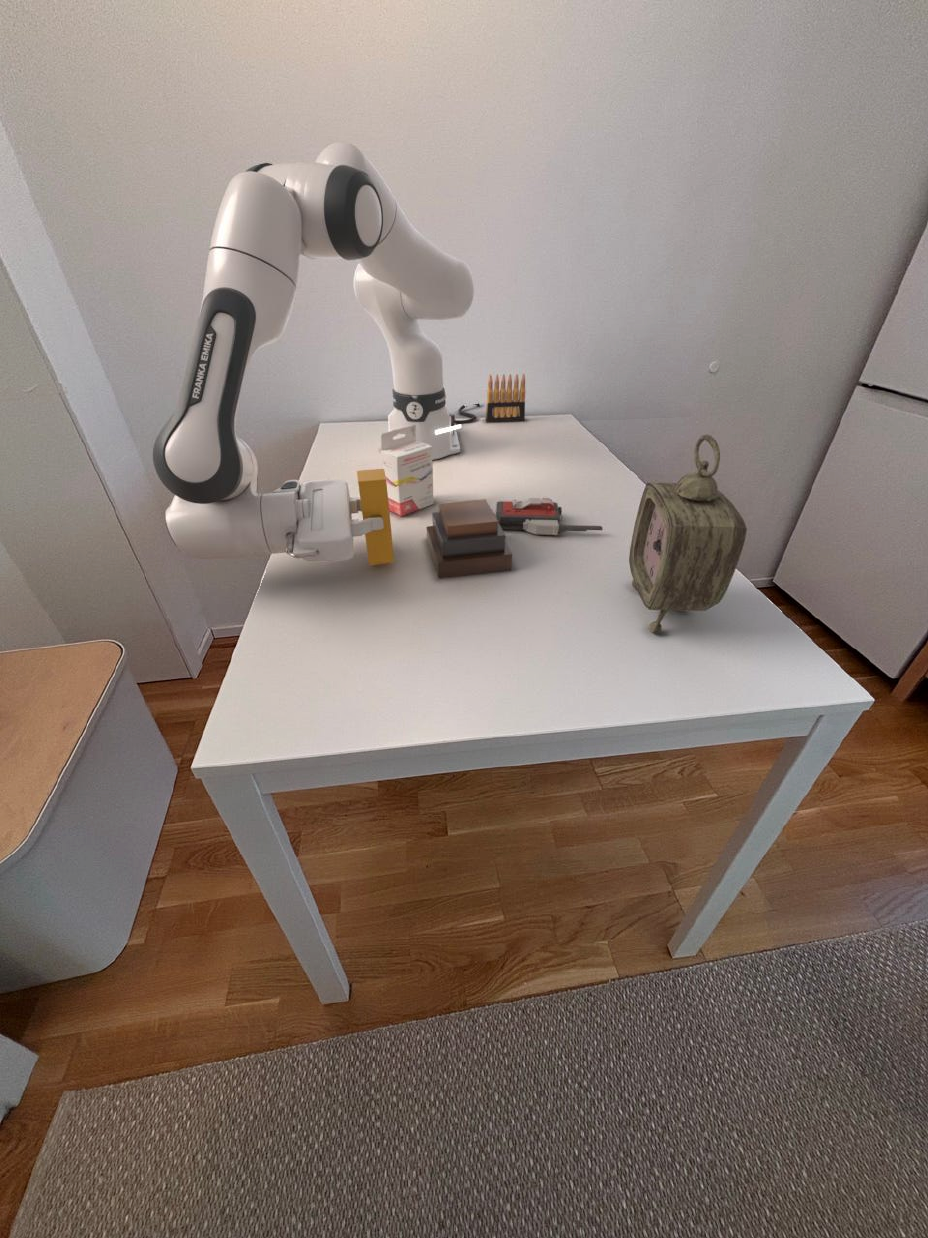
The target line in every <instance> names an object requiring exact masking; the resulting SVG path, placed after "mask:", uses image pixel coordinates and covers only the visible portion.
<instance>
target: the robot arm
mask: <svg viewBox="0 0 928 1238" xmlns="http://www.w3.org/2000/svg"><path fill="white" fill-rule="evenodd" d="M301 258H303V259H304V258H305V259H311V260H317V259H320V260H337V259H339V260H340V259H343V260H345V261H357V263H358V264H357V265H356V268H355V270H354V274H353V282H352V284H353V291H354V294H355V298H356V300H357V302H358V304H359V305H360V307H361V309H363V310H364V311H365V312H366V313H367V314H368V315H369V316H370V317H371V318H372V320H373V321H374V322H375V324H376V325H377V326H378V329H379V330H380V332H381V334H382V336H383V339H384V340H385V343H386V345H387V348H388V352H389V358H390V364H391V372H392V381H393V389H392V392H391V393H392V394H391V398H392V399H391V400H392V406H393V407H394V408H393V409H392V411H390V413H389V414H388V416H387V421H388V422H387V423H388V424H387V425H388V432H389V431H392V430H396V429H400V428H403V427H407V426H411V425H416V440H417V441H420V442H423V443H425V444H428V445H431V446H432V461H434V460H440V459H442V458H446V457H447V456H450V455H451V456H452V455H455V454H460V453H461V445H460V440H459V435H458V432H457V430H458V429H462V424H468V423H472V422H474V421H476V420H477V416H476V414H473V413H471V412H466V411H463V410H464V409H465V408H467V407H468V406H466V407H465V406H464V404H463V405H461V406H460V407H459V409H458V411H457V412H458V413H459V414H460V415H462V416H466V417H469V419H461V420H457V419H456V417H455V414H453V413H452V414H451V413H450V412H449V410H448V408H447V406H446V404H447V403H446V401H447V400H446V399H447V398H446V397H447V396H446V395H447V394H446V389H445V388H444V379H443V378H444V377H443V376H444V375H443V373H444V372H443V354H442V351H441V348H440V346H438V344H437V343H436V342H435V341H433V340H432V339H431V338H429V337H428V336H427V335H426V334H425V333H424V331H423V329H422V328H421V326H420V323H419V320H423V321H439V322H442V321H449V320H455V319H459V318H462V317H464V316H465V315H466V314H467V313H468V312H469V310H470V308H471V306H472V304H473V302H474V298H475V279H474V276H473V272H472V271H471V269H470V267H469V265H468V264H467V262H465V261H464V260H461V259H459V258H457V257H454V256H453V255H450V254H449V253H447V252H445V251H443V250H442V249H440V248H439V247H438V246H436V245H435V244H433V242H431V241H430V240H429V239H428V238H426V237H425V236H424V235H422V234H421V233H420V231H418V230H417V229H416V228H415V227H414V226H413V225H412V223H411V222H410V220H409V219H408V217H407V216H406V214H405V213H404V211H403V209H402V207H401V206H400V204H399V202H398V201H397V199H396V197H395V195H394V194H393V192H392V190H391V189H390V187H389V185H388V184H387V182H386V181H385V179H384V177H383V176H382V174H381V173H380V171H379V170H377V168H376V167H375V166H374V164H373V163H372V162H371V161H370V159H369V158H368V157H367V156H366V155H365V154H364V153H363V152H362V150H360V149H359V148H358V146H355V145H354V144H352V143H349V142H345V141H337V142H332V143H331V144H328V145H327V146H326V147H324V148H323V150H321V151H320V153H319V154H318V155H317V157H316V159H315V161H299V162H283V163H276V164H275V163H274V164H273V163H270V162H264V163H259V164H257V165H253V166H251V167H249V168H248V169H246V170H245V171H243V172H239V173H237V174H236V175H234V176H233V177H232V178H231V179H230V181H229V183H228V185H227V187H226V189H225V193H224V194H223V197H222V200H221V203H220V205H219V208H218V212H217V215H216V219H215V222H214V226H213V231H212V234H211V239H210V245H209V250H208V256H207V263H206V269H205V278H204V284H203V291H202V292H203V293H202V300H201V305H200V311H199V316H198V319H197V324H196V327H195V331H194V334H193V335H194V336H193V339H192V343H191V347H190V352H189V356H188V360H187V365H186V368H185V373H184V377H183V381H182V386H181V390H180V394H179V397H178V402H177V404H176V407H175V409H174V411H173V413H172V414H171V416H170V417H169V419H168V420H167V421H166V423H165V424H164V426H163V427H162V428H161V430H160V431H159V433H158V435H157V436H156V438H155V441H154V443H153V447H152V463H153V467H154V471H155V472H156V475H157V477H158V478H159V480H160V482H161V483H162V484H163V486H164V487H165V488H166V489H167V490H168V491H169V492H170V493H171V494H173V495H174V496H173V499H172V501H171V503H170V505H169V506H168V507H167V508H166V510H165V513H164V519H165V526H166V529H167V532H168V534H169V537H170V539H171V541H172V542H173V544H174V546H176V547H177V549H179V551H180V552H181V553H183V554H184V555H186V556H187V557H190V558H194V559H199V560H221V559H222V560H224V559H225V560H226V559H236V558H237V559H238V558H244V557H247V556H249V555H253V554H267V555H274V554H285V553H286V554H287V555H289V556H290V557H293V558H294V559H297V560H298V559H299V560H300V559H302V560H303V561H307V562H315V563H316V562H317V563H318V562H319V563H322V562H323V563H324V562H325V563H327V562H328V563H329V562H344V561H348V560H350V559H352V558H355V554H356V553H355V543H354V537H362V536H365V534H366V533H369V532H371V531H372V530H381V529H383V528H384V525H383V518H382V515H370V518H367V519H364V520H363V519H361V520H360V519H359V518H355V519H352V517H353V516H352V514H359V512H362V507H361V500H360V496H359V497H358V496H353V497H351V494H350V487H349V483H348V482H347V481H345V480H340V479H320V480H319V479H318V480H317V479H316V480H308V481H305V482H303V483H300V480H299V479H288V480H286V481H285V482H284V483H282V484H281V486H279V487H278V488H277V489H275V490H273V491H272V492H270V493H258V489H259V465H258V462H257V457H256V455H255V453H254V451H253V449H252V448H251V447H250V445H248V443H247V442H245V441H244V440H243V439H241V438H240V437H238V436H237V432H236V420H237V416H238V411H239V407H240V401H241V397H242V393H243V389H244V384H245V380H246V376H247V371H248V367H249V364H250V362H251V359H252V358H253V356H254V355H255V353H257V351H259V350H260V349H262V348H263V347H265V346H269V345H271V344H273V343H275V342H276V341H278V340H279V339H280V338H281V337H282V336H283V334H284V332H285V329H286V328H287V324H288V322H289V320H290V317H291V314H292V311H293V306H294V302H295V298H296V292H297V285H298V281H299V273H300V266H301ZM474 405H475V406H477V407H481V405H480V402H478V404H474ZM404 436H405V434H400V433H399V434H398V435H397V436H394V437H393V440H394V439H398V438H402V437H404Z"/></svg>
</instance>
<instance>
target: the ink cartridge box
mask: <svg viewBox="0 0 928 1238" xmlns="http://www.w3.org/2000/svg"><path fill="white" fill-rule="evenodd" d="M399 433H400V434H405V436H404V437H402V438H398V439H394V440H393V437H394V436H397V435H398V434H399ZM380 445H381V447H380V448H381V450H380V456H381V457H380V458H381V467H382V468H381V469H384V472H385V476H386V483H387V493H388V503H389V512H392V513H393V514H395V515H397V516H399V517H403V516H407V515H409V514H411V513H415V512H417V511H419V510H421V509H425V508H427V507H430V506H432V505H434V502H435V501H434V476H433V475H434V471H433V470H434V468H433V465H434V464H433V460H432V446H431V445H428V444H425V443H423V442H420V441H417V440H416V425H411V426H407V427H403V428H400V429H396V430H392V431H389V430H388V431H386V432H382V433H381V435H380Z"/></svg>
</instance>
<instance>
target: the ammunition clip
mask: <svg viewBox="0 0 928 1238" xmlns="http://www.w3.org/2000/svg"><path fill="white" fill-rule="evenodd" d="M505 375H506V374H502V376H501V381H500V377H499V375H498V374H496V375H495V378H494V382H493V376H492V374H489V376H488V381H487V390H486V409H485V422H486V423H511V422H514V423H515V422H525V420H526V419H525V418H526V417H525V416H526V375H525V373H523V374H522V375H521V378H520V380H519V375H518V373H516V374H515V376H514V380H513V377H512V374H511V373H509V375H508V377H507V383H506V376H505ZM513 381H514V382H513ZM519 381H520V382H519ZM493 383H494V385H493ZM519 383H520V386H519ZM506 384H507V386H506ZM493 387H494V388H493Z"/></svg>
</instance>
